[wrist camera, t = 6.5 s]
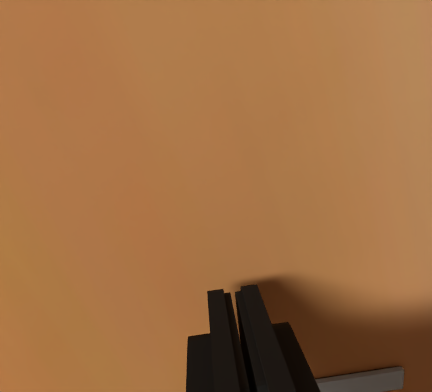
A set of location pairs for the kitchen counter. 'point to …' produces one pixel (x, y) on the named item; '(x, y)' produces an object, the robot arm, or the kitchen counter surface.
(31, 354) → the kitchen counter surface
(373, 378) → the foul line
